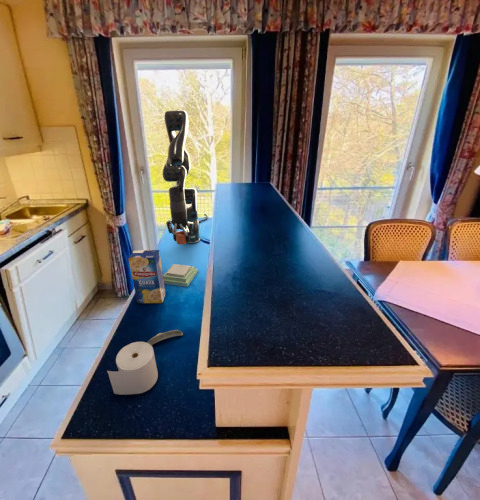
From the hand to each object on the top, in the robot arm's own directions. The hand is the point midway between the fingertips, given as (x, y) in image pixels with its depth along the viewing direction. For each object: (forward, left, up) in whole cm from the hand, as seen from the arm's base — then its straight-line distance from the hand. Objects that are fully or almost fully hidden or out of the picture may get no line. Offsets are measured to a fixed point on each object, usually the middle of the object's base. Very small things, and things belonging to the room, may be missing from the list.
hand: (181, 241), depth 140 cm
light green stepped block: (+10, +1, -15) cm, 18 cm away
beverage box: (+29, -4, -15) cm, 33 cm away
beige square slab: (+10, +1, -12) cm, 16 cm away
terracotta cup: (0, 0, -1) cm, 1 cm away
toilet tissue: (+68, +13, -15) cm, 71 cm away
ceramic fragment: (+51, +13, -15) cm, 55 cm away
